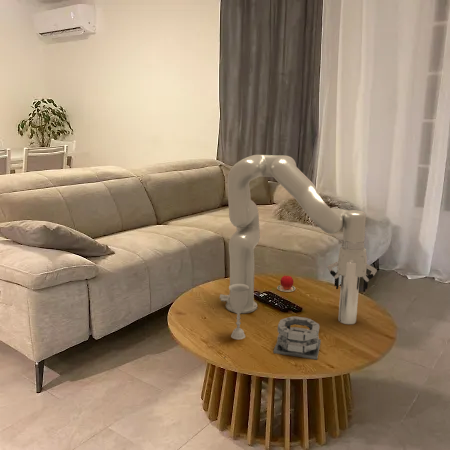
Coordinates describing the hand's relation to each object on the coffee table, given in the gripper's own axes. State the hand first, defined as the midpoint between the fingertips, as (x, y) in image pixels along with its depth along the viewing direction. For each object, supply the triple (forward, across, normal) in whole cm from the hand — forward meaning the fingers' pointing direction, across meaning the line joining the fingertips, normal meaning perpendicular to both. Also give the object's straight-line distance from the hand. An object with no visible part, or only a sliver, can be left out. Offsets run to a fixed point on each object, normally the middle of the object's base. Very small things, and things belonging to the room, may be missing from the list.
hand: (350, 289), depth 173 cm
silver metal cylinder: (+13, -1, 0) cm, 13 cm away
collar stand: (+12, -16, -26) cm, 33 cm away
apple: (+12, -28, +25) cm, 39 cm away
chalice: (+12, -37, -24) cm, 45 cm away
